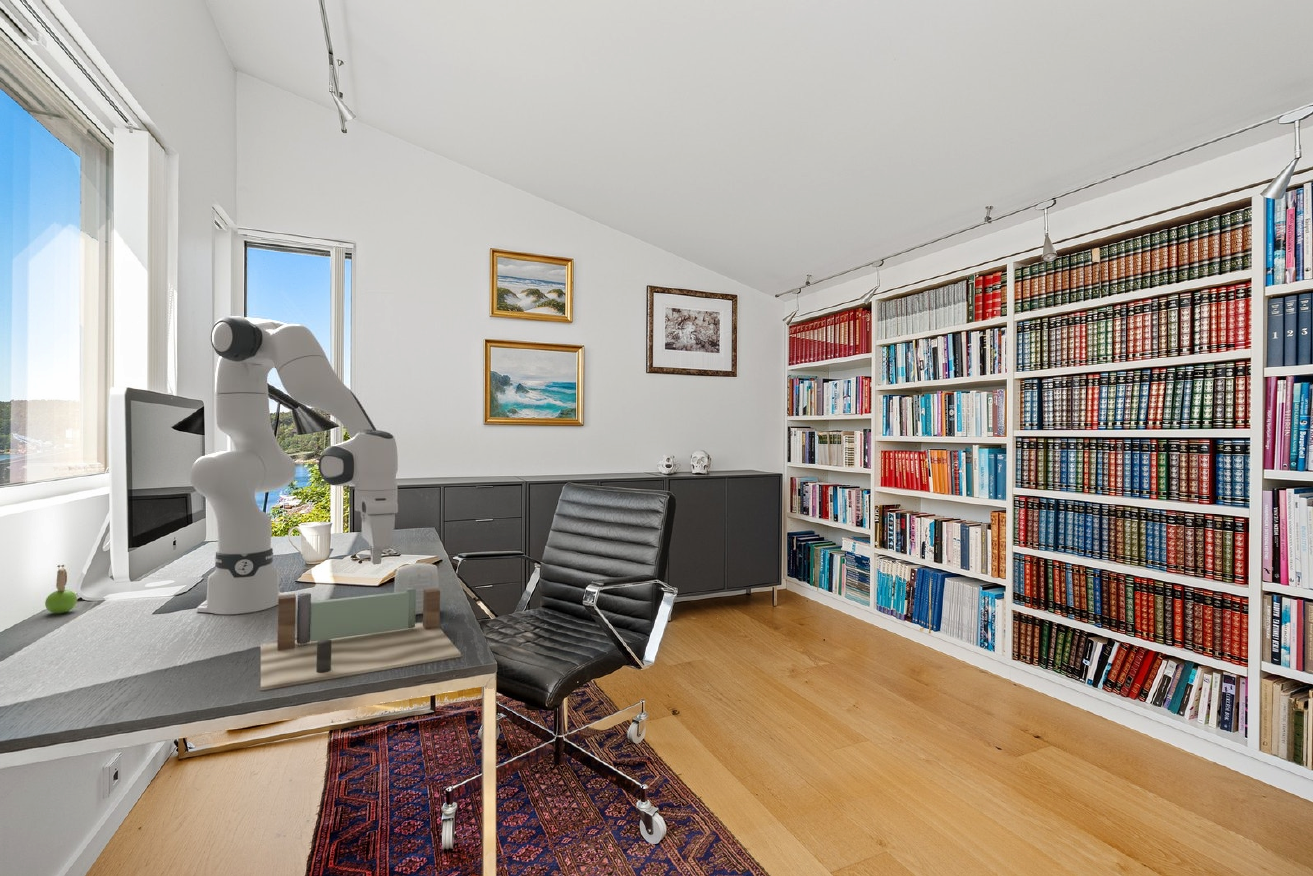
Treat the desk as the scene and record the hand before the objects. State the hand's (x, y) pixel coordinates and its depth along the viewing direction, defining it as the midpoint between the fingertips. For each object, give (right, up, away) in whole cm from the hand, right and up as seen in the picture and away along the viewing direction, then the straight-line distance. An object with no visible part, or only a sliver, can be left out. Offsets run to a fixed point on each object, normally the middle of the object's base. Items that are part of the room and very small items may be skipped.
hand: (375, 563), depth 141 cm
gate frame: (+3, -16, -13) cm, 20 cm away
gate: (-1, -14, -6) cm, 15 cm away
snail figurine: (-76, -13, +6) cm, 78 cm away
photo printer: (+4, -15, +14) cm, 21 cm away
